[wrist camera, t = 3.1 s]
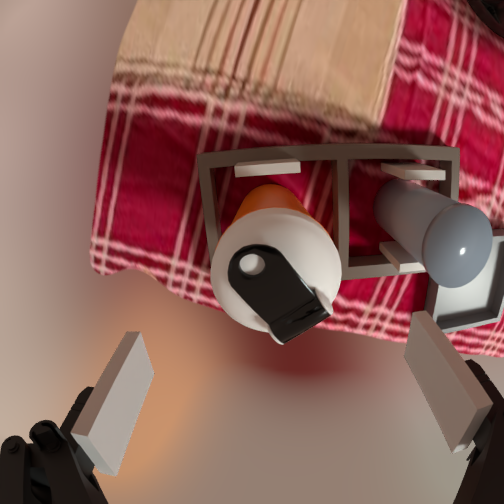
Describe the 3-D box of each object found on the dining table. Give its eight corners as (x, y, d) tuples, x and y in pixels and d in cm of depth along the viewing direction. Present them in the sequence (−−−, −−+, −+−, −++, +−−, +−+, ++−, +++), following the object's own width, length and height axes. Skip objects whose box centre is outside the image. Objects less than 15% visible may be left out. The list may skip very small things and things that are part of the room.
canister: (371, 177, 36) (430, 206, 22) (424, 177, 35) (497, 205, 21) (370, 236, 38) (421, 292, 24) (422, 233, 38) (485, 283, 24)
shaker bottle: (270, 159, 35) (279, 191, 17) (324, 213, 37) (379, 295, 19) (216, 214, 38) (173, 298, 19) (270, 263, 40) (276, 376, 21)
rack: (201, 152, 35) (188, 157, 29) (447, 145, 33) (478, 151, 27) (218, 281, 41) (210, 310, 34) (439, 263, 39) (464, 286, 33)
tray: (434, 232, 38) (445, 240, 35) (507, 228, 37) (519, 234, 34) (420, 325, 43) (428, 336, 40) (490, 311, 42) (499, 320, 39)
